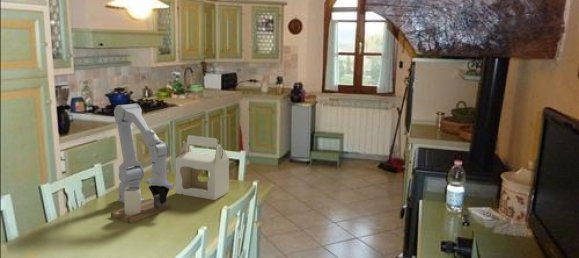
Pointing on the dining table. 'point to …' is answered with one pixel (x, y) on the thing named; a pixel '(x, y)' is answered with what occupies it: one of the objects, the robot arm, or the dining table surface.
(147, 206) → the tan channel tray
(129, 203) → the can
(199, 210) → the dining table surface
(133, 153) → the robot arm
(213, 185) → the gable box
